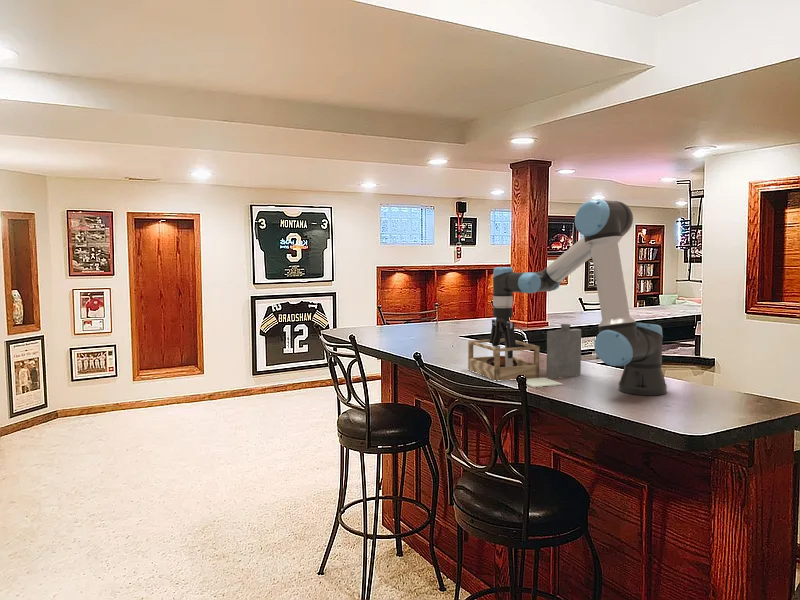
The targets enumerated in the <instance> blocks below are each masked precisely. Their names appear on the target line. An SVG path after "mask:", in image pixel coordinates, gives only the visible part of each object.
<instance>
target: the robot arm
mask: <svg viewBox="0 0 800 600" xmlns="http://www.w3.org/2000/svg"><path fill="white" fill-rule="evenodd" d="M633 224H634V215H633V212H632V210H631V208H630V207H629V205H627V204H625V203H624V202H621V201H617V200H614V201H613V200H603V199H601V198H600V199H599V198H598V199H590V200H587V201H586V202H583V203H582V204H581V205H580V206H579V208H578V209H577V211H576V213H575V216H574V226H575V229H576V230H577V231H578V233H579V234H580V235H582V237H581V238H580V239H579V240H578V241H576V242H575V243H574V244H573V245H572V246H570V247H569V248H568V249H567V250H566V251H565V252H563V253H562V254H561V255H559V256H558V257H557V258H556V259H555V260H554V261H552V262H551V263H550V264H549V265H547V267H545V268H544V269H542V270H541V271H532V272H528V271H527V272H526V271H525V272H514V270H513V269H514V268H513V267H512V266H496V267H494V269H493V273H492V274H493V275H492V291H493V295H492V306H493V307H492V317H494V318H495V319H492V320H491V330H490V342H489V344H491V347H494V348H501V343H500V339H502V335H503V339H505V341H504V345H505V344H506V348H515V347H517V344H516V341H517V340H516V333H515V322H511V321H510V318H512V317H513V315H514V309H513V305H514V304H513V303H514V302H513V301H514V298H513V296H514V294H513V293H521V294H522V293H525V294H535V293H537V292H539V293H540V292H552V291H556V290H557V289H559V287H560V285H561V283H562V281H563V280H564V279H566V278H567V277H568V276H570V275H571V274H572V273H574V272H575V271H576V270H577V269H578V268H580V267H581V266H582V265H584V263H586V262H587V261H589V260H590V259H592V267H593V271H594V277H595V282H596V283H595V285H596V290H597V296H598V302H599V303H598V304H599V309H600V314H601V315H600V316H601V322H600V323H599V324H598V326H597V327H598V334H597V335H596V338H595V340H594V342H593V344H594V351H595V354H596V355H597V357H598V359H599V360H601V361H602V362H603V363H604V364H606V365H608V366H612V367H623V366H624V368H623V371H622V372H621V373H622V374H621V377H620V379H619V382H618V390H619V391H621V392H623V393H625V394H630V395H637V396H662V395H665V394H667V392H668V390H667V389H668V388H667V387H668V386H667V384H666V380H665V377H664V374H663V373H664V372H663V370H662V369H663V368H662V367H663V365H662V363H663V338H664V335H663V327H662V326H661V325H659V324H655V323H643V322H637V320H635V319H634V318H632V317H631V315H630V310H629V303H628V297H627V290H626V284H625V278H624V271H623V267H622V260H621V254H620V248H619V242H620V241H621V239H622V238H623V237H624V236H625V235H626V234H627V233H628V232H629V231H630V230H631V228H632V225H633ZM492 356H493V357H494V351H492ZM504 356H505V367H511V366H513V357H514V353H513V351H504ZM493 362H494V361H493Z"/></svg>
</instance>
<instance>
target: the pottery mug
mask: <svg viewBox="0 0 800 600" xmlns="http://www.w3.org/2000/svg"><path fill="white" fill-rule="evenodd" d="M504 356H505V355H500V367H505V357H504ZM493 361H494V357H493V358H490V359H488V360H487V364H489V365H492V366H494V362H493ZM513 363H514V365H513V366H517V362H516V360H514V359H513Z"/></svg>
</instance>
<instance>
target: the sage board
mask: <svg viewBox="0 0 800 600" xmlns="http://www.w3.org/2000/svg"><path fill="white" fill-rule="evenodd" d="M556 385H561V386H563V385H564V384H563V383H562V382H559V381H556V380H553V379H550V378H547V377H545V376H544V377H539V378H531V379H527V385H526V386H527V387H529V388H533V389H536V387H537V388H544V387H543V386H549V387H557V386H556Z"/></svg>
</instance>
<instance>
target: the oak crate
mask: <svg viewBox="0 0 800 600" xmlns="http://www.w3.org/2000/svg"><path fill="white" fill-rule="evenodd" d="M500 342H501V343H502V342H503V343H504V347H503V348H502V347H500V348H494V347H493V346H492V345H491V346H490V345H488V344H487V343H490V339H476V340H475V339H474V340H468V342H467V343H468V347H467V349H468V351H467V352H468V355H467V356H468V357H467V358H468V359H467V361H468V362H467V364H468V365H467V366H468V367H467V369H469V370H471V371H474V372H477V373H479V374H481V375H484V376H486V377H488V378H491V379H493V380H496V381H498V380H510V379H516V377H517V376H518V375H525V376H526V378H527V379H531V378H540V345H535V344H532V343H527V342H523V341H520V340H516V345H520V346H516V347H515V348H506V344H505V339H504V338H501V339H500ZM500 342H499V343H500ZM484 343H485V344H484ZM486 344H487V345H486ZM474 346H476V347H480V348H483V349H486V350H490V351H492V352H493V351H494V366H492V365H489V364H487V360H488V359H490V358H493V355H492V356H478V357H474ZM527 350H528V351H531V350H533V362H532V361H531V362H530V361H527V360H524V359H521V358H518V357H515V356H513V359H514V360H516V362H517V366H511V367H500V356H501V352H505V351H514V352H515V351H516V352H518V351H527ZM503 356H504V357H505V355H503ZM513 365H514V363H513ZM469 370H468V371H469ZM471 371H470V372H471ZM474 372H473V373H474ZM479 374H478V375H479ZM481 375H480V376H481ZM484 376H483V377H484ZM486 377H485V378H486ZM488 378H487V379H488ZM491 379H490V380H491ZM493 380H492V381H493ZM496 381H495V382H496ZM510 381H511V380H510ZM498 382H499V381H498Z"/></svg>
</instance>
